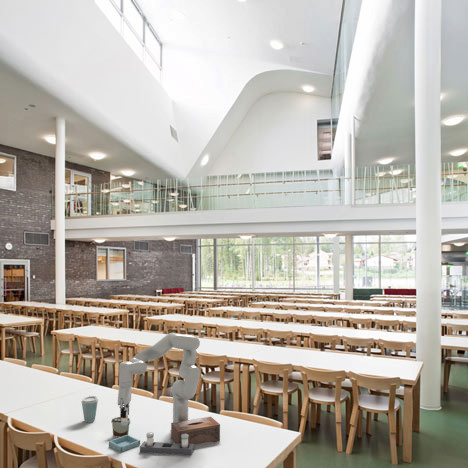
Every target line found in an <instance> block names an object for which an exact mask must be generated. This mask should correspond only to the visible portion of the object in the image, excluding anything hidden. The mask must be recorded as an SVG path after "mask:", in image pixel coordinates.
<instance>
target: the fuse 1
mask: <svg viewBox="0 0 468 468" xmlns="http://www.w3.org/2000/svg"><path fill="white" fill-rule="evenodd" d="M154 435H155V434H154V432H153V431H148V432H146V442H147V446H149V447H153V442H154Z"/></svg>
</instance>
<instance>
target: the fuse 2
mask: <svg viewBox="0 0 468 468" xmlns="http://www.w3.org/2000/svg"><path fill="white" fill-rule="evenodd" d="M188 438H189V435H188V434H182V435H181V439H182V448H188Z"/></svg>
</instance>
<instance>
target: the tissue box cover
mask: <svg viewBox="0 0 468 468" xmlns="http://www.w3.org/2000/svg"><path fill="white" fill-rule="evenodd" d="M170 425H171V426H170V430H171V432H170V438H171V440H172V441H173V443H182V439H181V435H182V434H188V435H189V438H188V444H194V445H198V444H203V443H209V442H212V443H217V442H221V424H220V423H219V422H218V421H217V420H216V419H215V418H214V417H212V416H206V417H201V418H195V419H188V420H186V421H180V422H174V423H173V422H171V423H170Z"/></svg>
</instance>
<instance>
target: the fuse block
mask: <svg viewBox="0 0 468 468" xmlns="http://www.w3.org/2000/svg"><path fill="white" fill-rule="evenodd" d="M194 451H195V444H188V448H182V443H175V442H163V441H161V442H160V441H153V447H149V446H147V441H143V443H142V444H140V445H139V453H140V454H141V453H143V454H160V455H161V454H162V455H181V456H182V455H183V456H192V455H193V453H194Z"/></svg>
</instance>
